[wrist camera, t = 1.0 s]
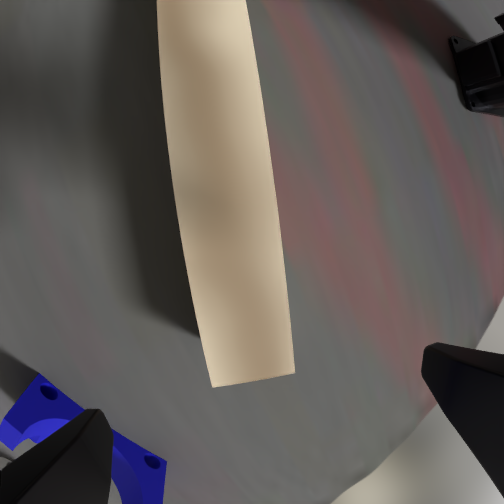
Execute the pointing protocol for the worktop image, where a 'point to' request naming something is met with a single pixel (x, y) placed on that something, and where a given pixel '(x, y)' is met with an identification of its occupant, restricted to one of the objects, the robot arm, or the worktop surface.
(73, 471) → the robot arm
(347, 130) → the worktop surface
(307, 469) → the worktop surface
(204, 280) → the batten
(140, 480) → the cable clip
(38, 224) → the worktop surface
